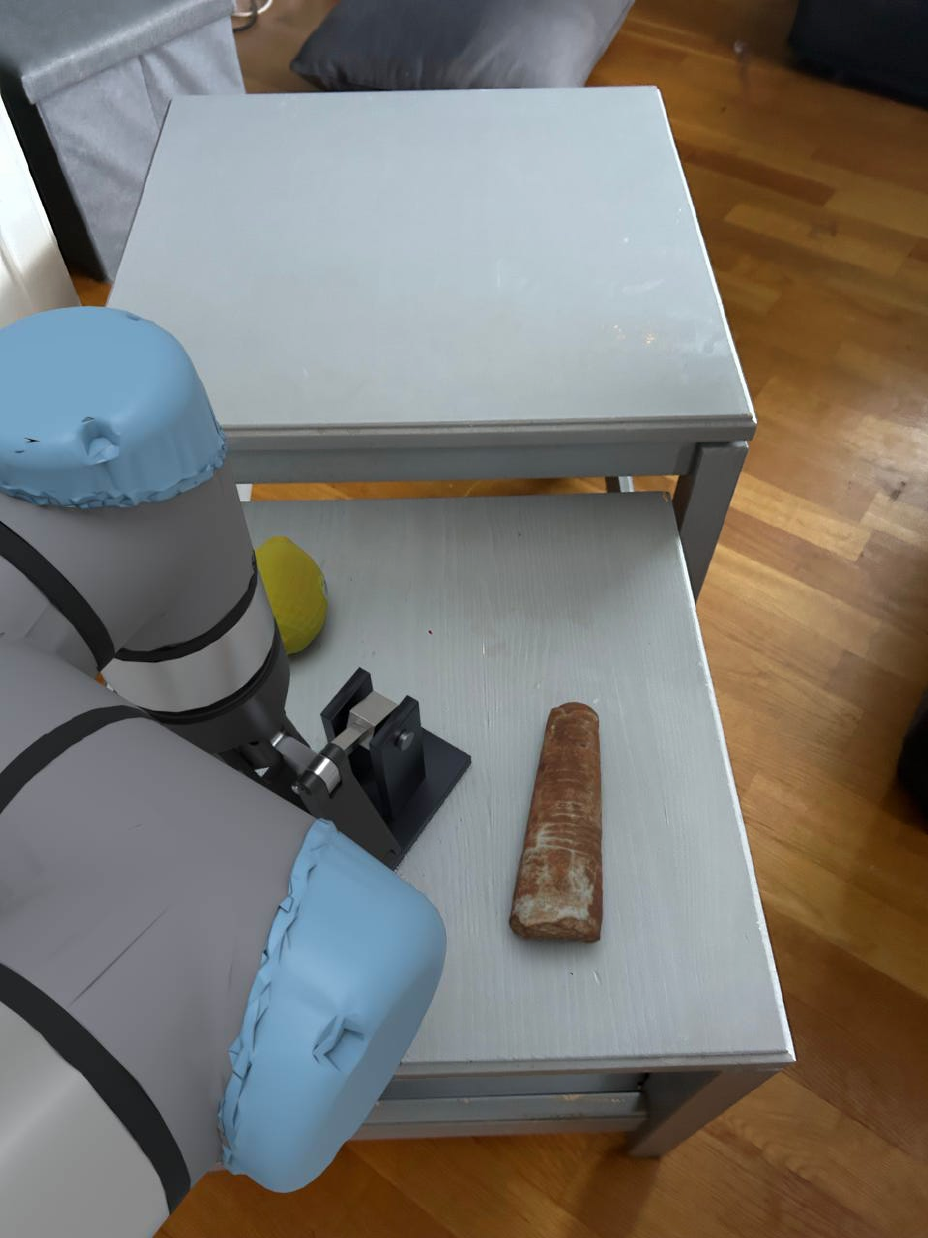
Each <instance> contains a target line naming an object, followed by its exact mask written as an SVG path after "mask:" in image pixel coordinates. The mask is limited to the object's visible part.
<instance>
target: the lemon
mask: <svg viewBox="0 0 928 1238" xmlns="http://www.w3.org/2000/svg"><path fill="white" fill-rule="evenodd" d="M254 551H255V555H256V560H257V565H258V568H259V572H260V575H261V578H262V581H263V584H264V587H265V590H266V593H267V596H268V599H269V602H270V605H271V609H272V612H273V615H274V617H275V619H276V621H277V624H278V628H279V631H280V634H281V637H282V641H283V644H284V647H285V651H286V654H287V655H290V654H295V653H299V652H301V651H303V650H305V648H307V647H308V646H309V645H310V644H311V643H312V642H313V641H314V639H316V637H317V636H318V634H319V633H320V631H321V630H322V628H323V626H324V625H325V621H326V617H327V613H328V605H329V596H328V595H329V594H328V593H329V592H328V586H327V582H326V578H325V576H324V573H323V572H322V570H321V568H320V567H319V565H318V563H316V561H315V560H314V559H313V558H312V557H311V555H309V554H308V553H307V552H306V551H305V550H304V549H303V548H301V547H299V546H298V545H297V544H296V543H294V542H293V541H292V540H291V539H290V538H288V537H287V536H285V535H273V536H271V537H269V538H267V540H266V541H264V542H263V543H262V544H261V545H259V546H258V547H257V548H256V549H254Z"/></svg>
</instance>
